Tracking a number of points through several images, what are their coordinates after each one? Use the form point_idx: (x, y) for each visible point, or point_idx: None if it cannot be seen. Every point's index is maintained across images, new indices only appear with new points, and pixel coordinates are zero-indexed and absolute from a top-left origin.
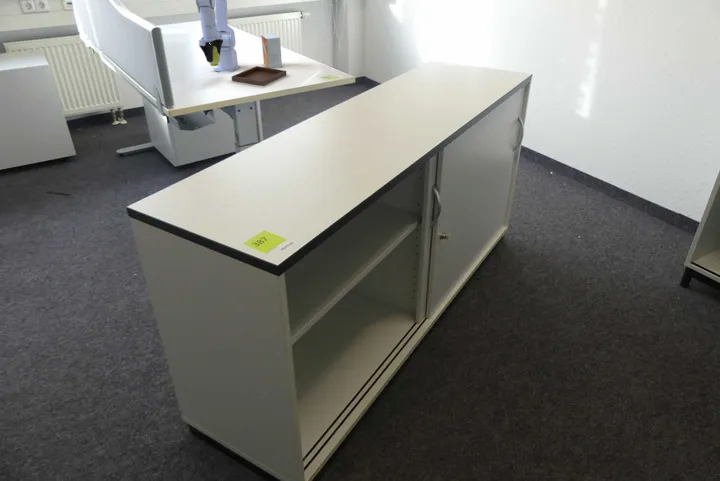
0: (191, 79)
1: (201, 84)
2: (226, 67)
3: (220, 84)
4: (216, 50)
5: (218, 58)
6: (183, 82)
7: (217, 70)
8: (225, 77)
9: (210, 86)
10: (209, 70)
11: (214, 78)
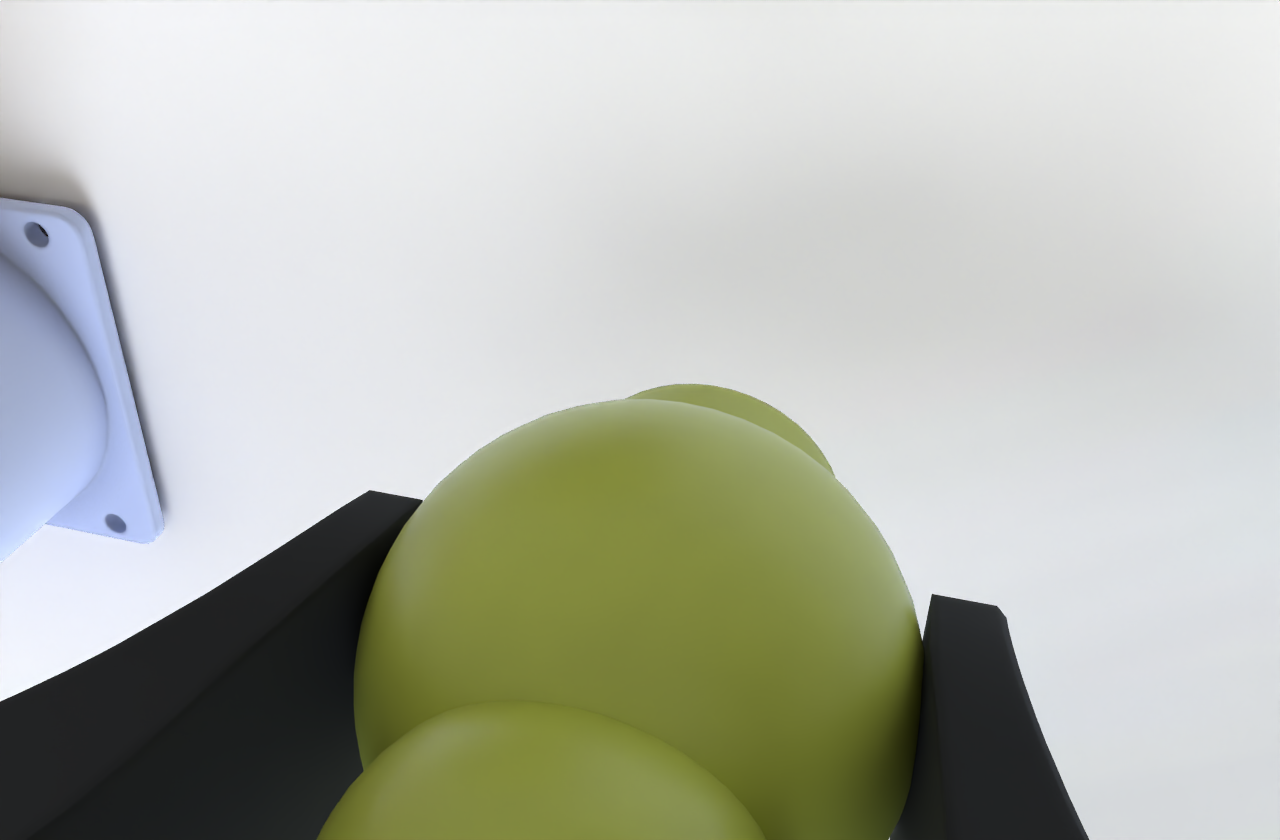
0: None
1: (1038, 516)
2: (12, 341)
3: (973, 88)
4: (541, 790)
5: (707, 468)
6: None
7: (143, 482)
8: (401, 189)
9: (1187, 278)
10: (167, 612)
11: (551, 393)
